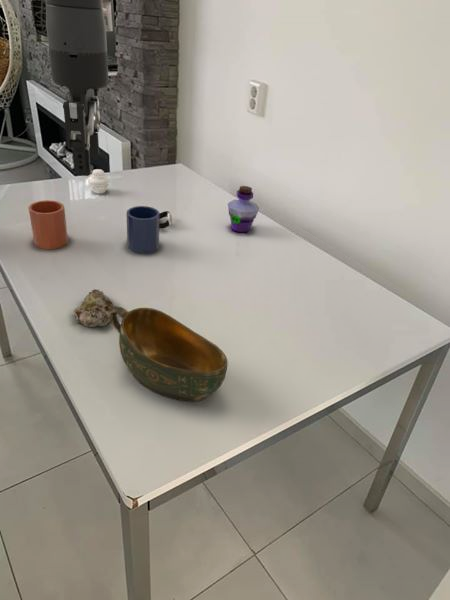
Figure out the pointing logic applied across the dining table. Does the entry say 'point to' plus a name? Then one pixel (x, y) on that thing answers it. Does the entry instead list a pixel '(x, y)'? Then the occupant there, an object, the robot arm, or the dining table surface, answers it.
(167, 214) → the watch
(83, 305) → the mineral rock
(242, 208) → the potion bottle
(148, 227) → the cup right
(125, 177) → the dining table surface
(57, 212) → the cup left
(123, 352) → the painted kuksa bowl
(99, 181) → the white lidded jar
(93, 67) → the robot arm
